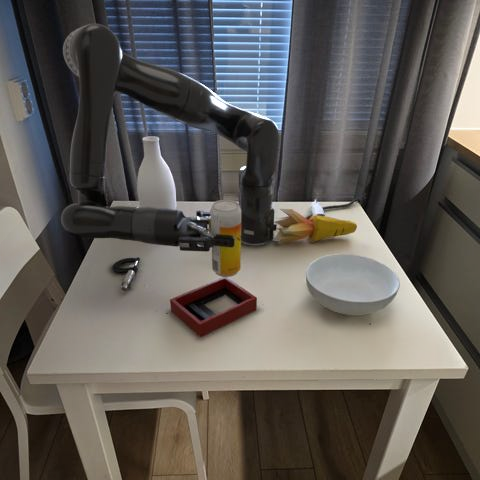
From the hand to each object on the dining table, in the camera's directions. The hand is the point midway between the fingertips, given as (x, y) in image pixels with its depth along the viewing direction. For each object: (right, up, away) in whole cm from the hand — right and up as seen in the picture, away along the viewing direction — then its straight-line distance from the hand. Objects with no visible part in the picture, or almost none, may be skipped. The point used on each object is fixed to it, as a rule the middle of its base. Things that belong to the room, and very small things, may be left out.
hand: (237, 234), depth 91 cm
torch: (+22, +5, +39) cm, 45 cm away
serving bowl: (+26, -13, +15) cm, 33 cm away
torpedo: (+25, +14, +50) cm, 58 cm away
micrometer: (-29, -6, +23) cm, 38 cm away
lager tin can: (-2, -7, +6) cm, 10 cm away
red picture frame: (-5, -15, +11) cm, 20 cm away
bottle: (-24, +11, +46) cm, 53 cm away
